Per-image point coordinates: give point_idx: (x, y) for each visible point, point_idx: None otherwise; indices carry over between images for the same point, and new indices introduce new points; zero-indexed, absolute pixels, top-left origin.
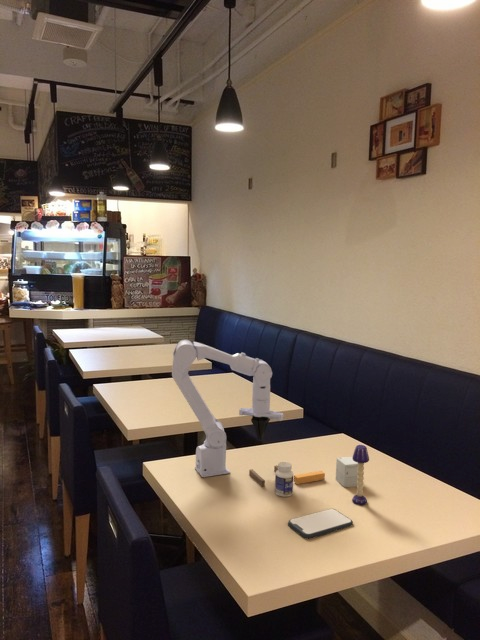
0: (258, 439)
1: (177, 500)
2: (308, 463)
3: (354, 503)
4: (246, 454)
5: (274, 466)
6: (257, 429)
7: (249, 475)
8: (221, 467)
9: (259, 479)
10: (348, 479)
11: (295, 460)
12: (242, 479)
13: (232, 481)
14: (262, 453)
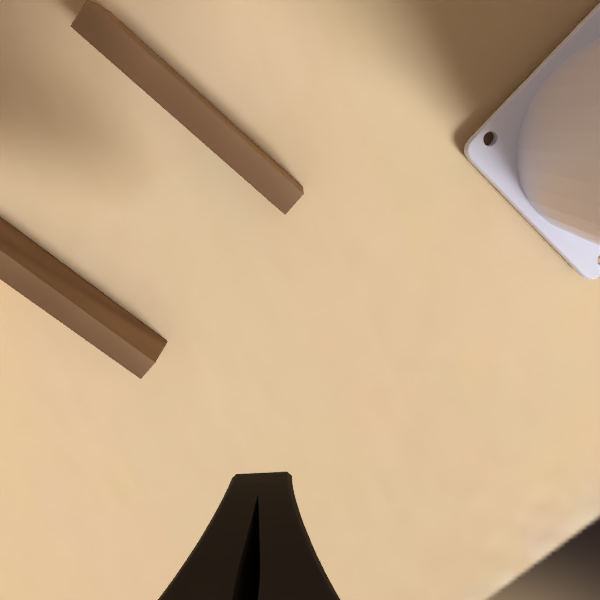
0: (277, 472)
1: None
2: (38, 548)
3: None
4: (460, 506)
5: (156, 359)
6: (278, 584)
7: (299, 184)
8: (555, 95)
9: (135, 42)
10: None
11: (130, 553)
12: (323, 89)
13: (385, 3)
14: (366, 560)
